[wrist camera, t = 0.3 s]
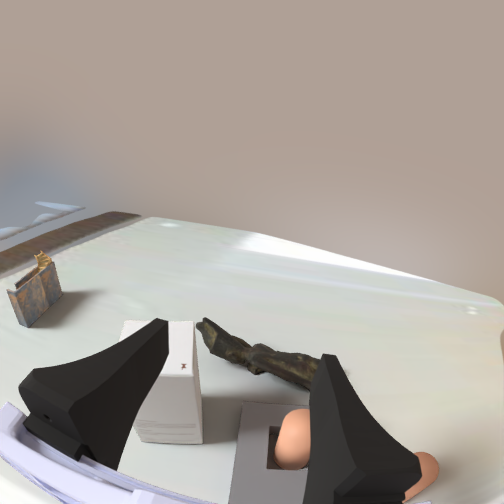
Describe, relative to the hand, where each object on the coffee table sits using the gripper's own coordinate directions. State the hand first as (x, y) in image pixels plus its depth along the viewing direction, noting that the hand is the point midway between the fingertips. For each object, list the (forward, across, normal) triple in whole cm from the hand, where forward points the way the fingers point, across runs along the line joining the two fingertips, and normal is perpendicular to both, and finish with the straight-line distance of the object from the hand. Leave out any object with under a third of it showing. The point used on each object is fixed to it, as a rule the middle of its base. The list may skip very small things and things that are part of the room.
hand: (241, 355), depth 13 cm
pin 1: (+7, -7, +20) cm, 23 cm away
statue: (+19, -2, +20) cm, 28 cm away
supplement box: (+9, +7, +22) cm, 24 cm away
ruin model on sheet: (+21, +39, +24) cm, 50 cm away
